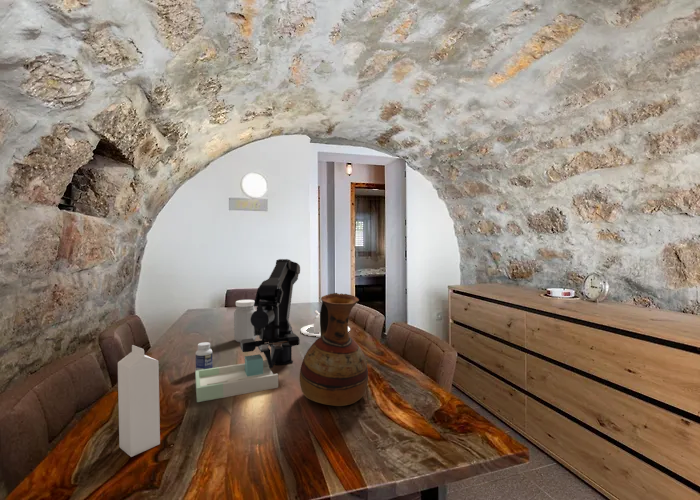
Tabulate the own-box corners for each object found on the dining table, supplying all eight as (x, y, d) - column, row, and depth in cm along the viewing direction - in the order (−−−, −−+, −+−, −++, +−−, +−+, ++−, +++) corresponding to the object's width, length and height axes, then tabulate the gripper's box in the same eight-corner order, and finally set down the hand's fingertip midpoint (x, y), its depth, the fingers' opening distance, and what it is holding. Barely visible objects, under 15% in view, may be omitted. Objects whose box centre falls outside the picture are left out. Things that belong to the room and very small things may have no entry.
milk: (148, 435, 82) (146, 341, 81) (160, 444, 78) (159, 345, 78) (118, 448, 77) (117, 347, 77) (130, 458, 73) (128, 352, 73)
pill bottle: (206, 375, 119) (206, 346, 119) (192, 373, 120) (191, 345, 120) (215, 369, 124) (215, 341, 124) (202, 368, 125) (201, 341, 125)
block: (260, 368, 119) (260, 354, 119) (263, 373, 114) (262, 358, 114) (244, 371, 117) (244, 356, 117) (247, 376, 112) (247, 360, 112)
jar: (247, 336, 168) (247, 298, 167) (261, 339, 162) (260, 300, 162) (229, 340, 160) (229, 301, 159) (243, 344, 154) (242, 303, 154)
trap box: (267, 371, 122) (267, 359, 122) (278, 387, 108) (278, 374, 108) (195, 382, 112) (195, 370, 112) (196, 402, 99) (196, 388, 98)
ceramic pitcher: (315, 420, 88) (314, 301, 87) (290, 390, 106) (289, 291, 105) (381, 403, 97) (381, 295, 96) (348, 378, 115) (347, 287, 114)
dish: (294, 337, 167) (293, 313, 167) (308, 324, 191) (308, 304, 191) (345, 339, 163) (344, 314, 162) (353, 326, 187) (353, 305, 187)
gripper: (290, 314, 129) (291, 356, 129) (237, 319, 121) (238, 364, 121) (299, 320, 119) (300, 366, 119) (242, 326, 111) (243, 375, 111)
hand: (270, 367), depth 118 cm, fingers closed
